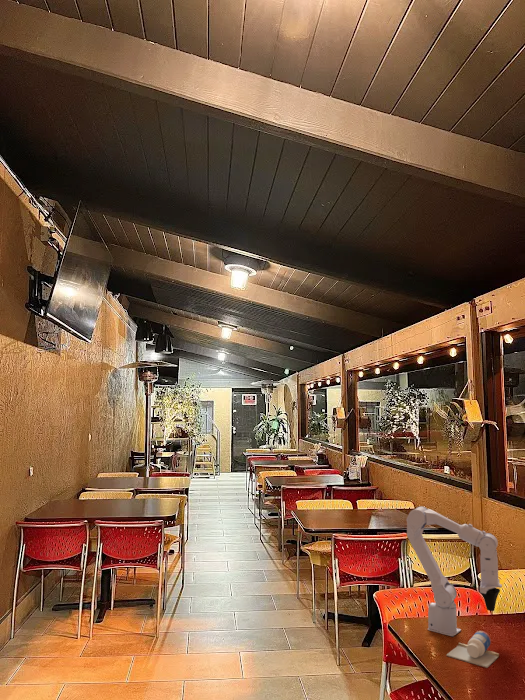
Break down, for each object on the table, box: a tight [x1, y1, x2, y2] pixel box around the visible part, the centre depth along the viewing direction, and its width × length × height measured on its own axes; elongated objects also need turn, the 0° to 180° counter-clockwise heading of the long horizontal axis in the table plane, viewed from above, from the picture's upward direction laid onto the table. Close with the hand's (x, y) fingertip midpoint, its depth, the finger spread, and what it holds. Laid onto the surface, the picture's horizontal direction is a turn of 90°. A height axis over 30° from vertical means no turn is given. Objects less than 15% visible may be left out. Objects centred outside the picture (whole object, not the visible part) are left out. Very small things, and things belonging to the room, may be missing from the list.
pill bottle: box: [467, 630, 492, 658], centre depth 183 cm, size 6×5×10 cm
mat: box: [446, 644, 499, 669], centre depth 182 cm, size 13×10×1 cm
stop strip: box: [457, 642, 500, 658], centre depth 186 cm, size 13×1×1 cm, turn 49°
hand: (490, 610), depth 197 cm, fingers closed
